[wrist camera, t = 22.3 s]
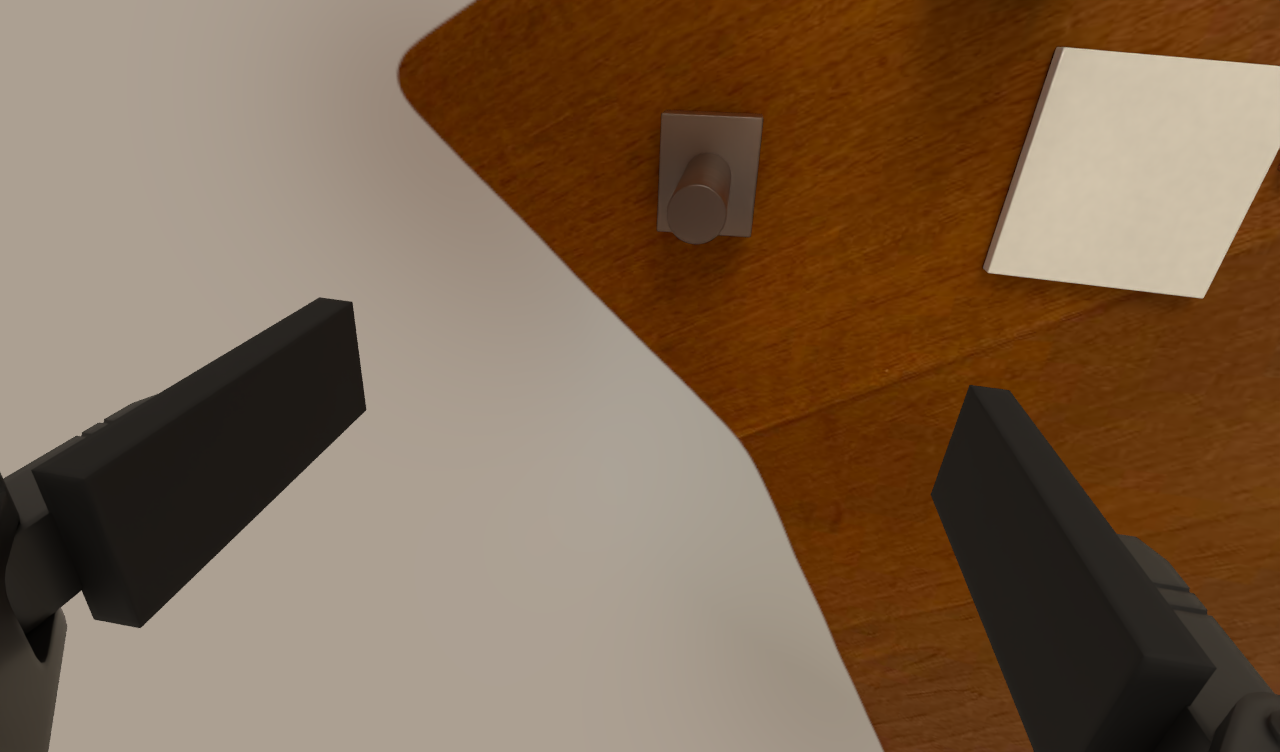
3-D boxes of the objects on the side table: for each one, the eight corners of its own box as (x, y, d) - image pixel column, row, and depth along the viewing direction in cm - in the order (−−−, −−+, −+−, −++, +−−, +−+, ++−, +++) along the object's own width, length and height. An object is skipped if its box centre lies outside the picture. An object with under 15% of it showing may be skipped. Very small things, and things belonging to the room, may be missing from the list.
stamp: (668, 107, 38) (636, 133, 27) (762, 111, 38) (768, 140, 27) (663, 217, 41) (632, 281, 30) (750, 222, 41) (751, 290, 30)
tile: (1055, 46, 34) (1063, 46, 33) (1304, 68, 33) (1319, 69, 32) (982, 268, 40) (987, 273, 39) (1193, 293, 39) (1203, 299, 38)
